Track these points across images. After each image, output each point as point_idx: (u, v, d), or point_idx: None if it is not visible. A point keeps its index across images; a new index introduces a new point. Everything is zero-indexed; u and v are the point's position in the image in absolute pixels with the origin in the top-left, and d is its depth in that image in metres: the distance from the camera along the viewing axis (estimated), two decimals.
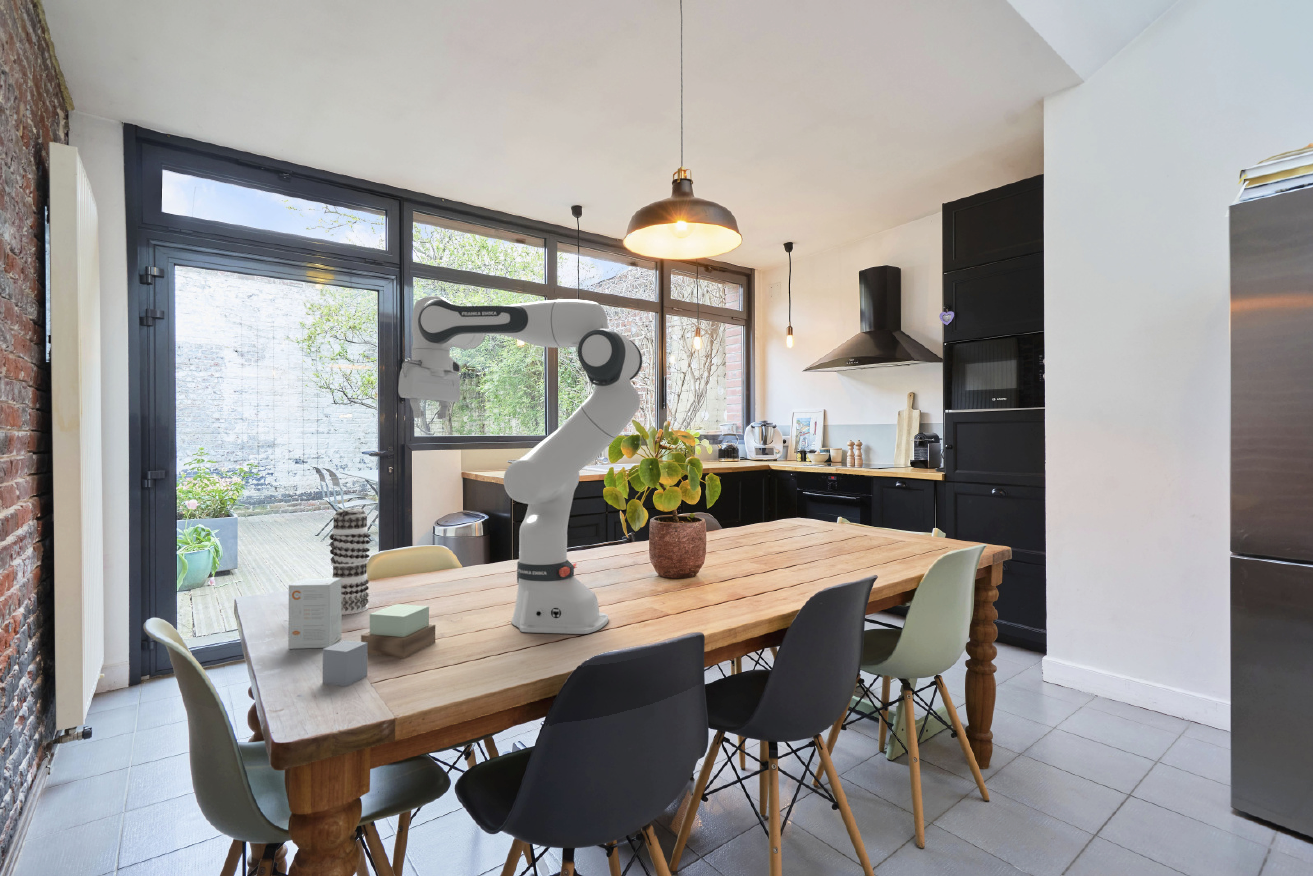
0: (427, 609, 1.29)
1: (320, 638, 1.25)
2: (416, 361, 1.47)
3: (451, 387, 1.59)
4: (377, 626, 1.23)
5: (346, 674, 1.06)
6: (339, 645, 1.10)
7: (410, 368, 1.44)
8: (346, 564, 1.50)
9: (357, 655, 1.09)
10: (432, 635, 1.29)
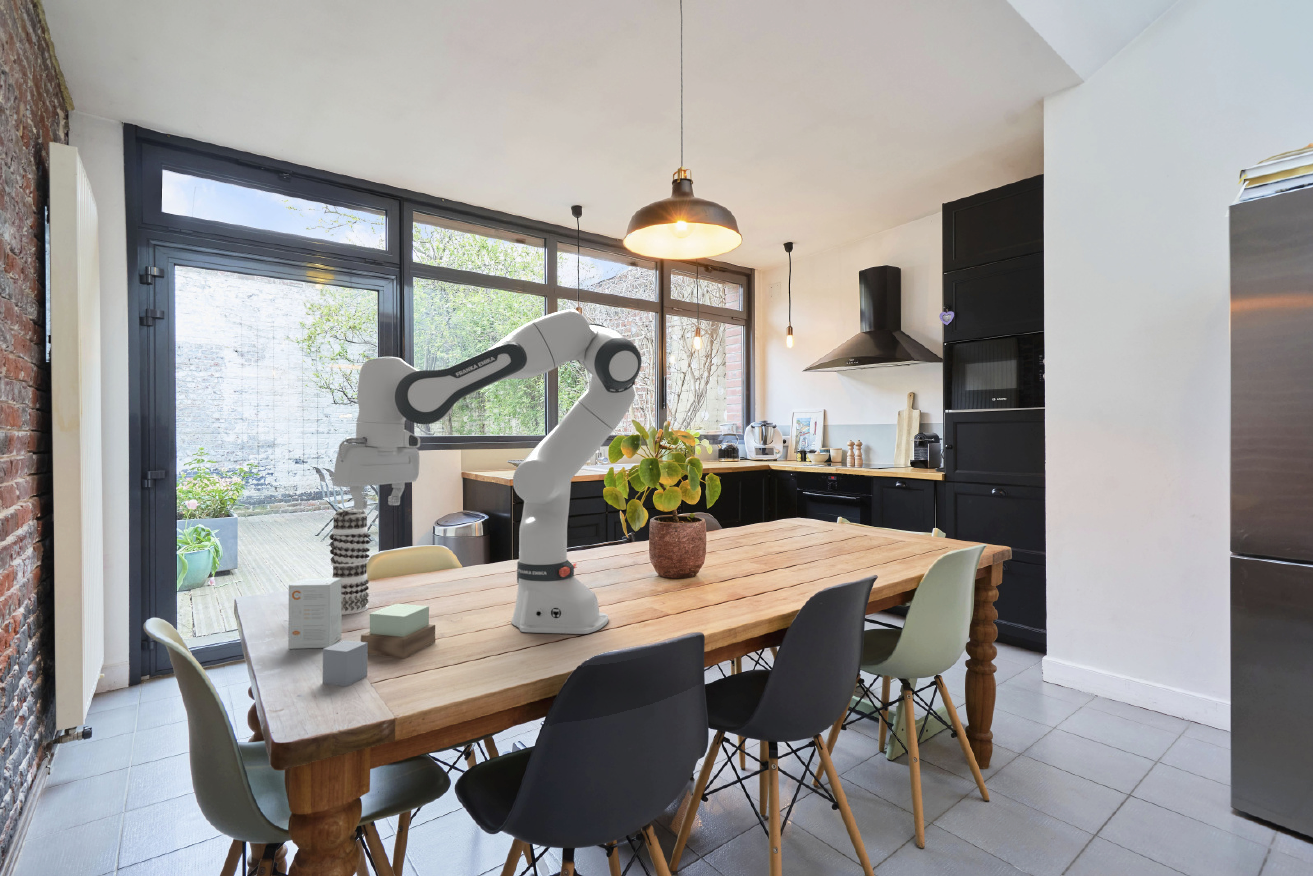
0: (427, 609, 1.29)
1: (320, 638, 1.25)
2: (359, 439, 1.17)
3: (407, 465, 1.29)
4: (377, 625, 1.23)
5: (346, 674, 1.06)
6: (339, 645, 1.10)
7: (349, 450, 1.15)
8: (346, 564, 1.50)
9: (357, 655, 1.09)
10: (432, 635, 1.29)
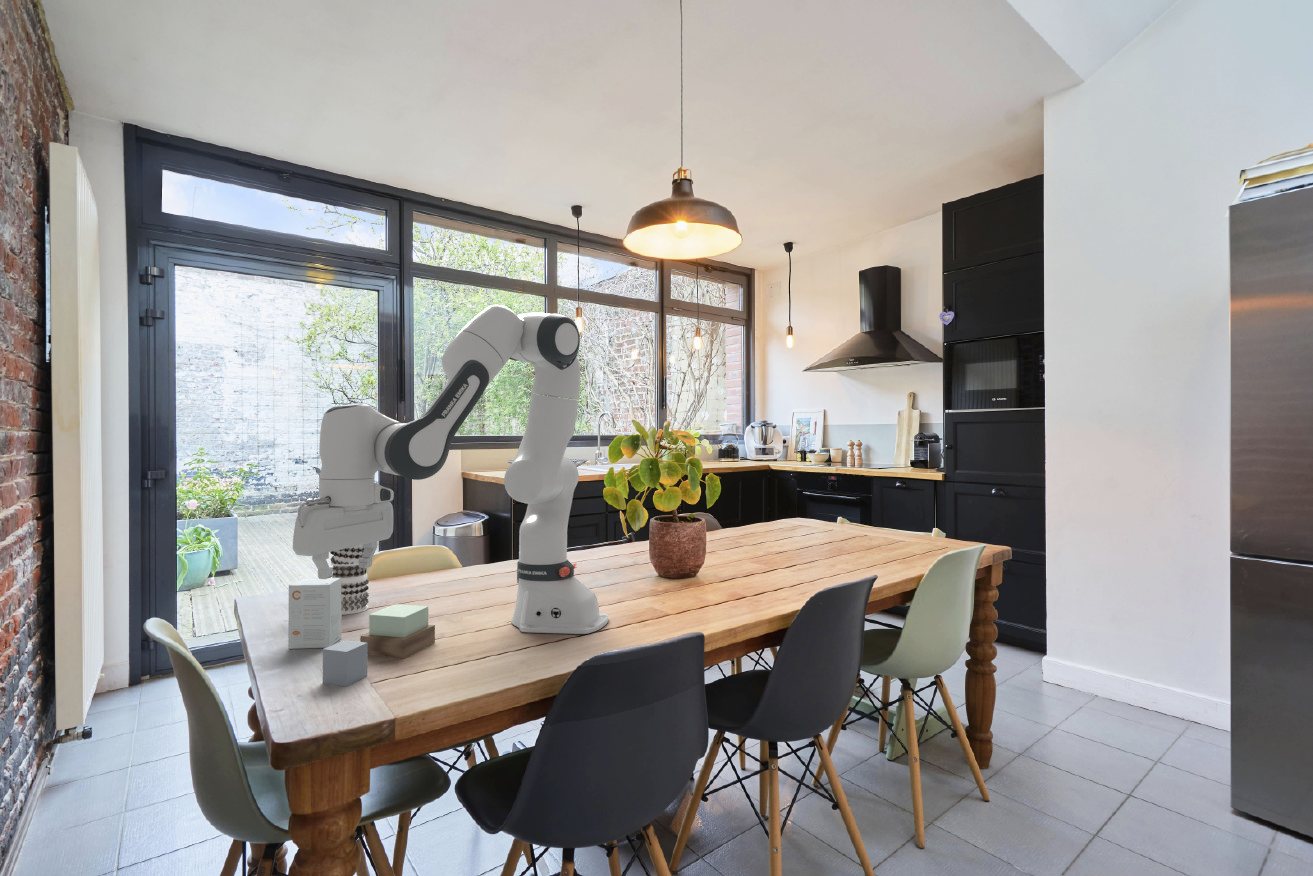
0: (426, 609, 1.29)
1: (320, 638, 1.25)
2: (321, 500, 1.03)
3: (379, 522, 1.15)
4: (377, 626, 1.23)
5: (346, 674, 1.06)
6: (339, 645, 1.10)
7: (310, 514, 1.00)
8: (346, 564, 1.50)
9: (357, 655, 1.09)
10: (432, 636, 1.29)
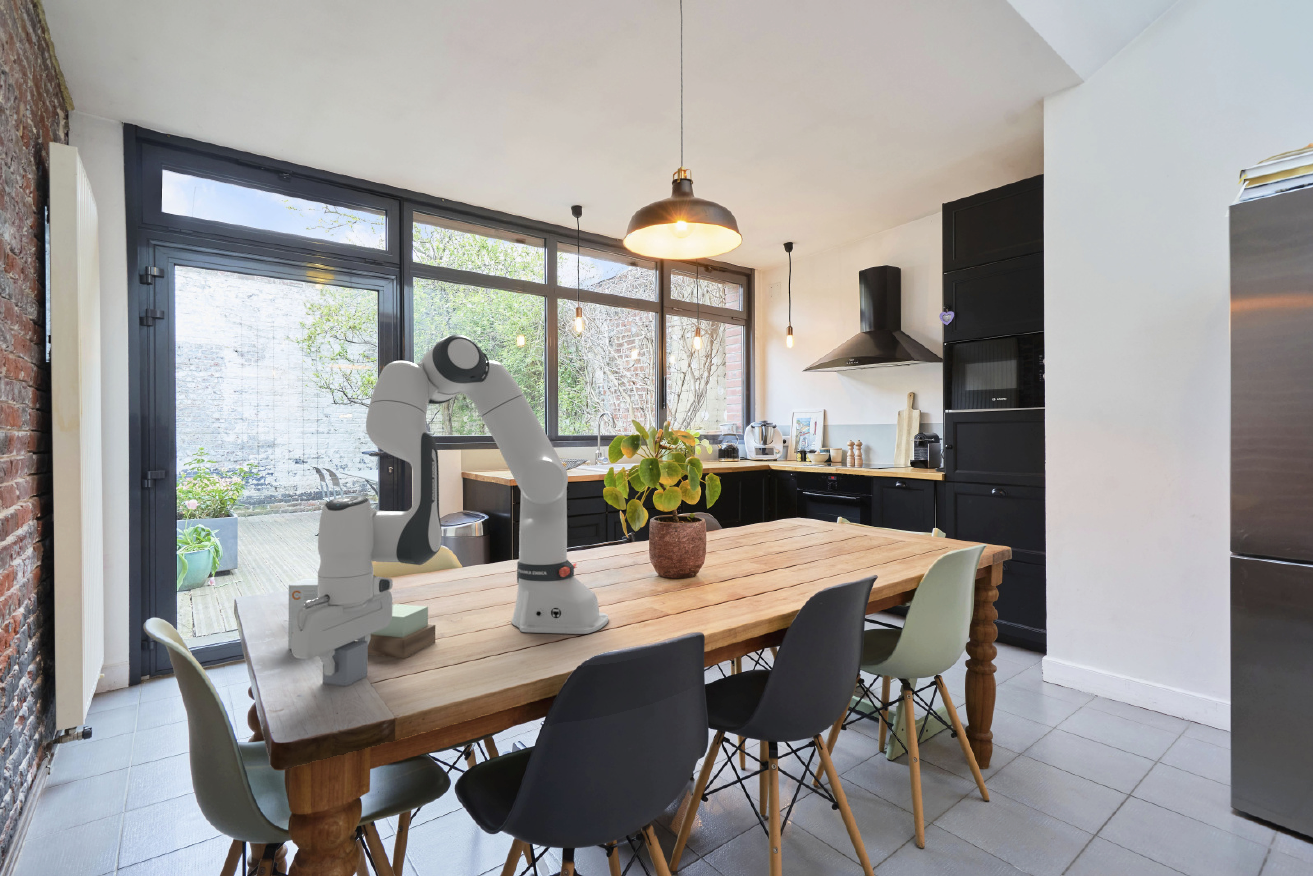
0: (426, 609, 1.29)
1: None
2: (320, 600, 1.03)
3: (378, 611, 1.15)
4: None
5: (346, 673, 1.06)
6: None
7: (309, 617, 1.01)
8: None
9: (358, 654, 1.09)
10: (432, 636, 1.29)
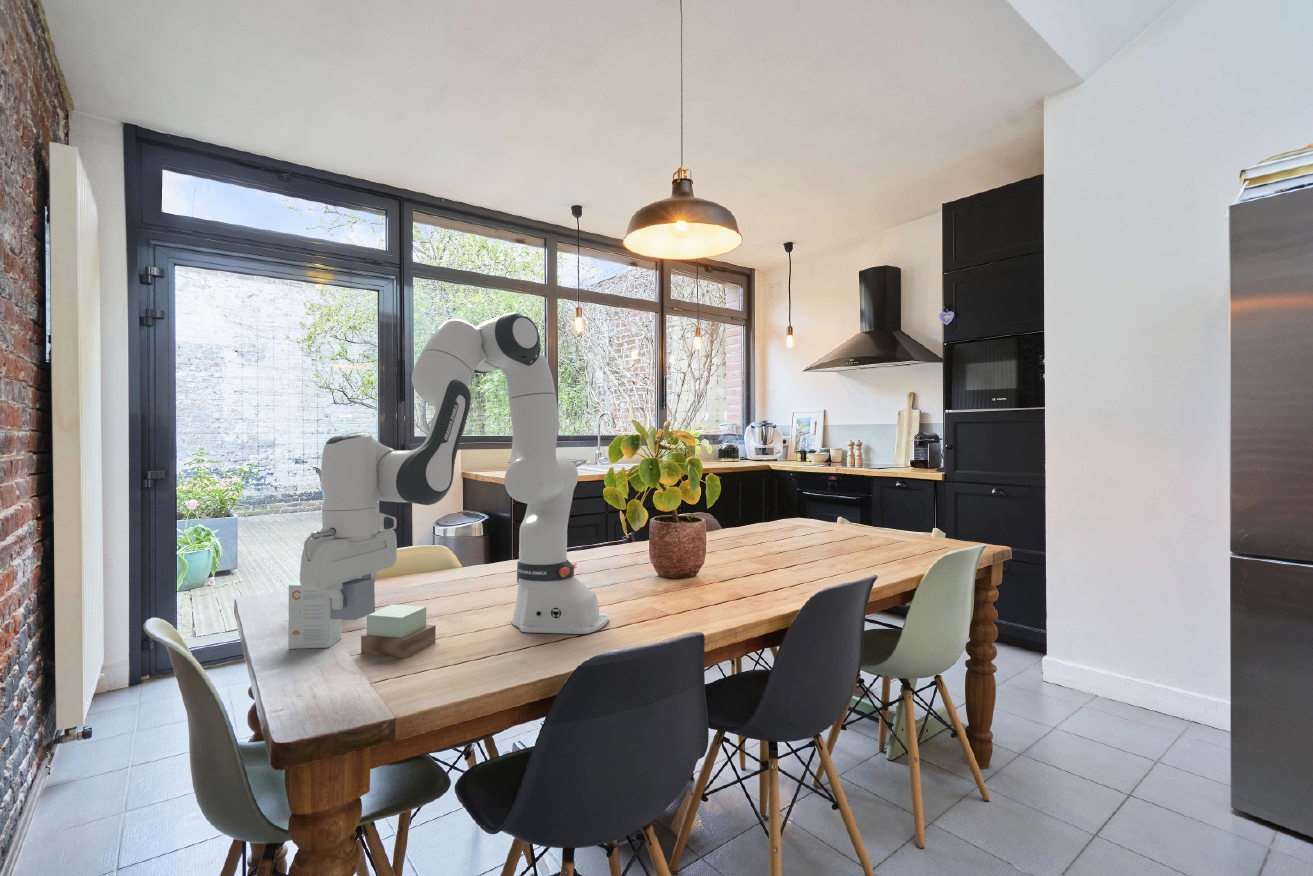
0: (424, 610, 1.28)
1: (320, 638, 1.25)
2: (327, 532, 1.02)
3: (383, 550, 1.14)
4: (374, 627, 1.23)
5: (355, 607, 1.05)
6: (346, 581, 1.09)
7: (317, 547, 1.00)
8: None
9: (365, 590, 1.08)
10: (432, 636, 1.29)
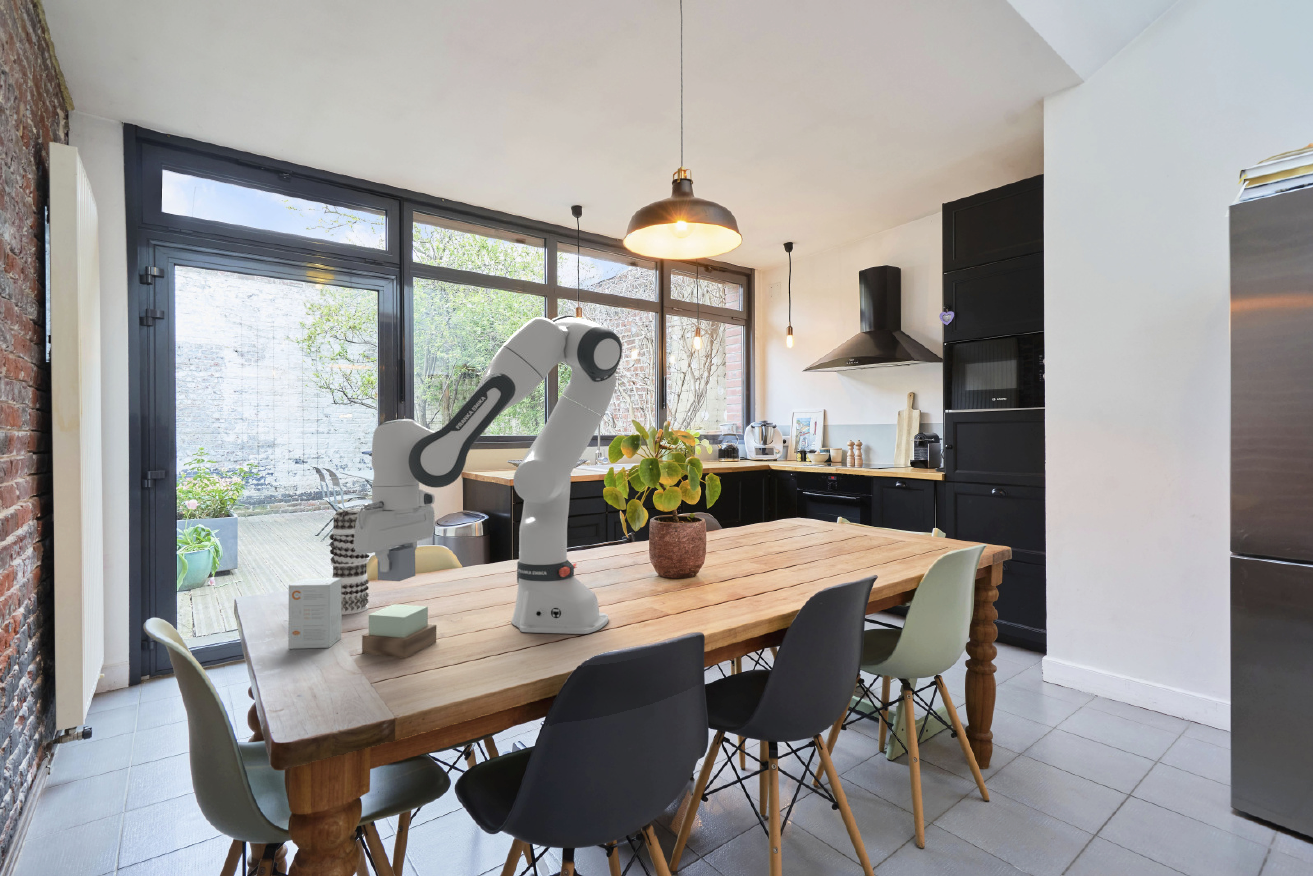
0: (426, 609, 1.29)
1: (320, 638, 1.25)
2: (376, 504, 1.19)
3: (423, 522, 1.31)
4: (376, 626, 1.23)
5: (399, 570, 1.22)
6: (391, 548, 1.25)
7: (368, 517, 1.16)
8: (346, 564, 1.50)
9: (407, 556, 1.24)
10: (433, 636, 1.29)
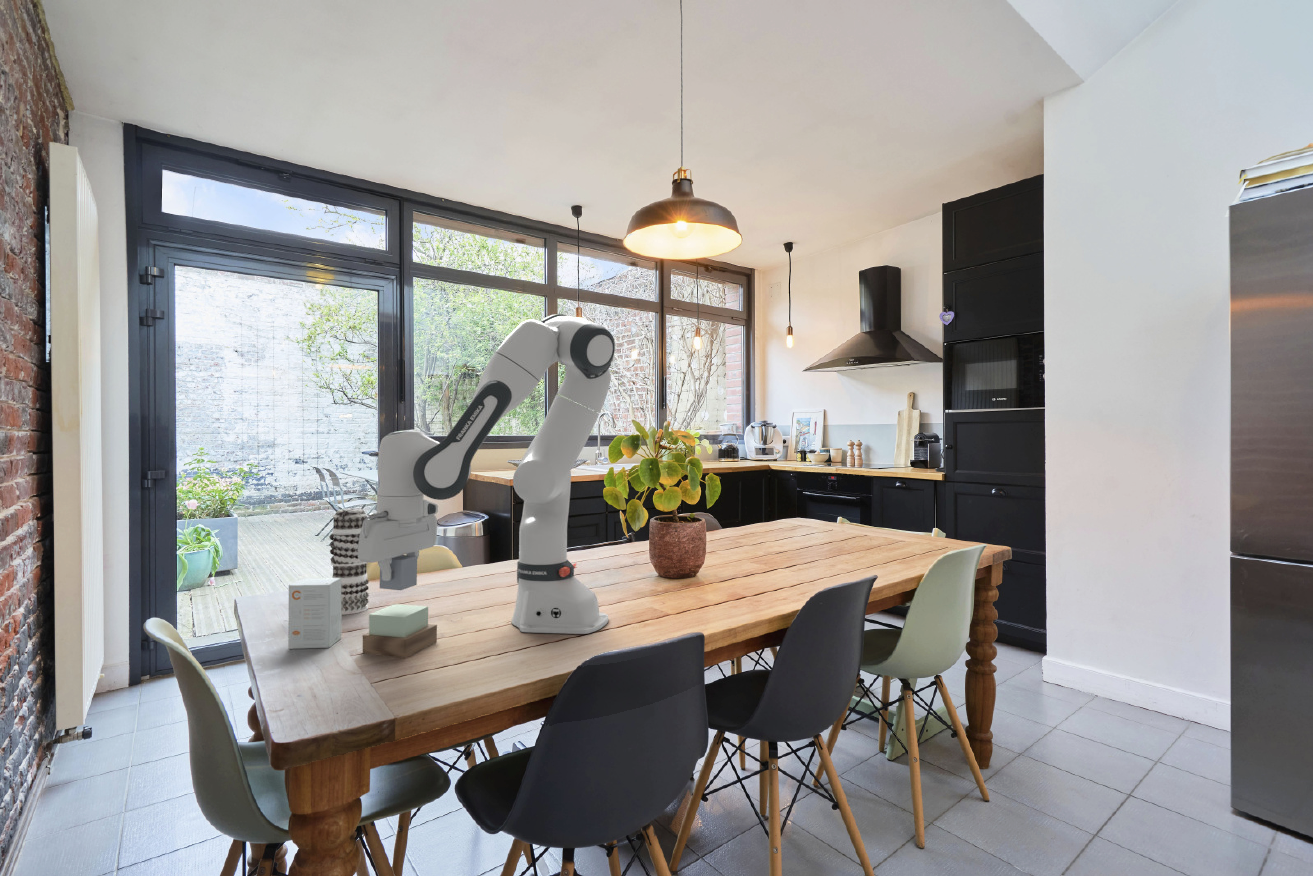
0: (426, 609, 1.29)
1: (320, 638, 1.25)
2: (381, 514, 1.20)
3: (426, 532, 1.32)
4: (377, 626, 1.23)
5: (400, 579, 1.23)
6: (393, 557, 1.26)
7: (373, 526, 1.17)
8: (346, 564, 1.50)
9: (409, 565, 1.26)
10: (434, 635, 1.29)
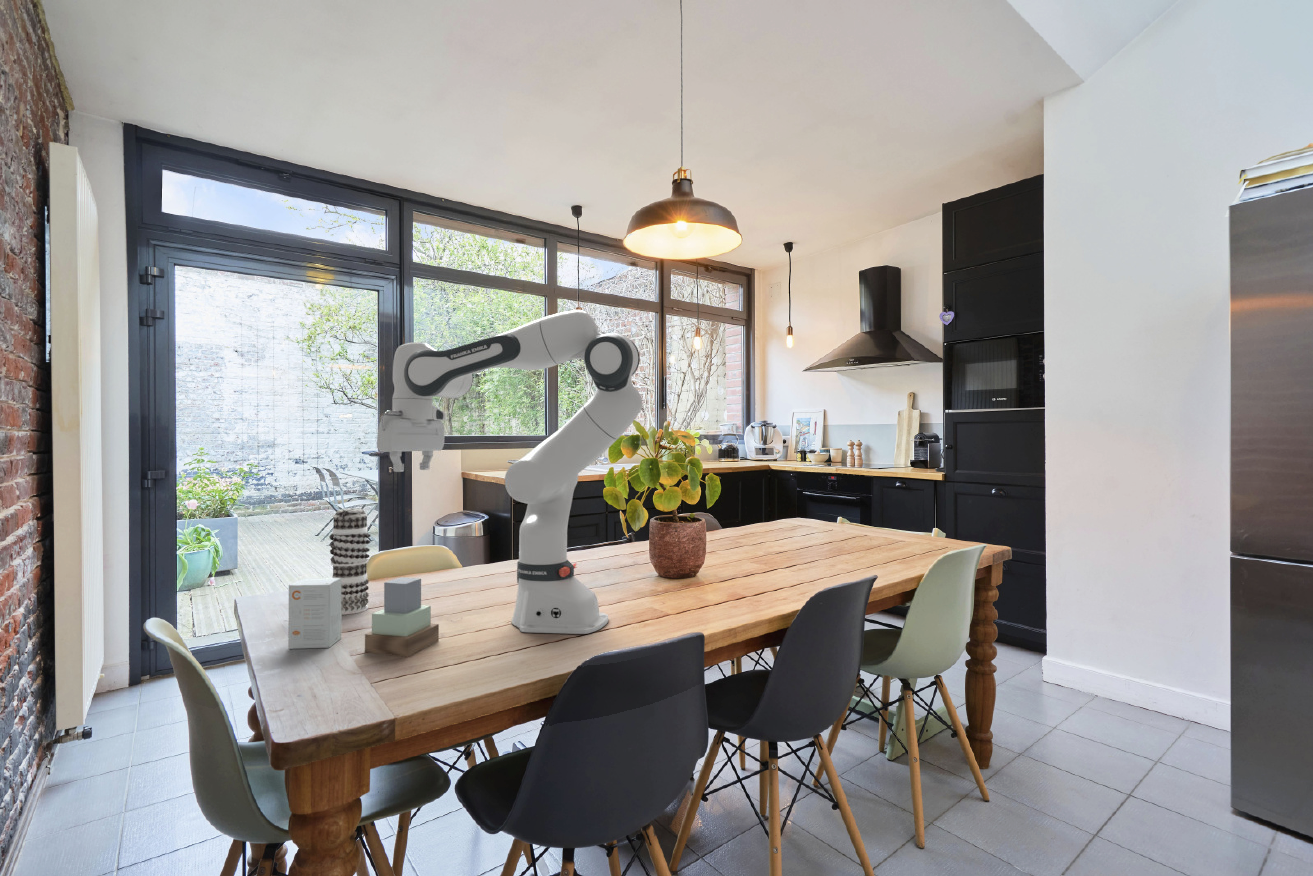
0: (429, 608, 1.29)
1: (320, 638, 1.25)
2: (396, 412, 1.39)
3: (435, 435, 1.51)
4: (379, 625, 1.24)
5: (405, 603, 1.24)
6: (397, 580, 1.27)
7: (389, 421, 1.37)
8: (346, 564, 1.50)
9: (413, 588, 1.26)
10: (435, 635, 1.29)
